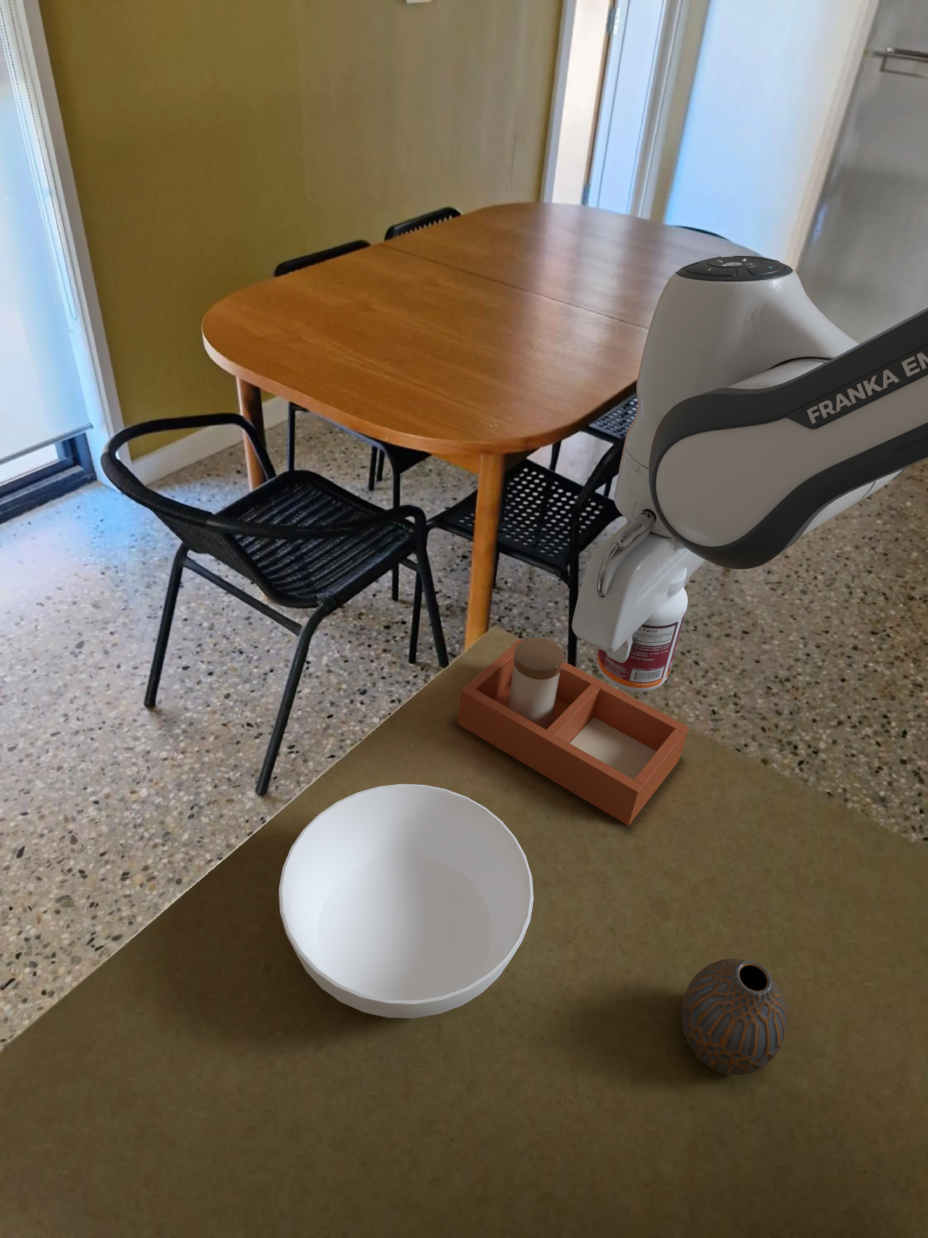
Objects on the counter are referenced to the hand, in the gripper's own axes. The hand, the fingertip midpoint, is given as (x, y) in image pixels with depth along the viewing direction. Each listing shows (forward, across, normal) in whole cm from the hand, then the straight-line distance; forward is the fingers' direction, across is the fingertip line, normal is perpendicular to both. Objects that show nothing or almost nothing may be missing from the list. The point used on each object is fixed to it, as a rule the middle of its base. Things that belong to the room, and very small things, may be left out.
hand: (641, 632), depth 73 cm
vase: (+17, -18, -19) cm, 31 cm away
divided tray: (+16, 0, +4) cm, 17 cm away
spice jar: (+16, 0, +9) cm, 18 cm away
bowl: (+17, -26, +3) cm, 31 cm away
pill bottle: (+4, 0, 0) cm, 4 cm away
